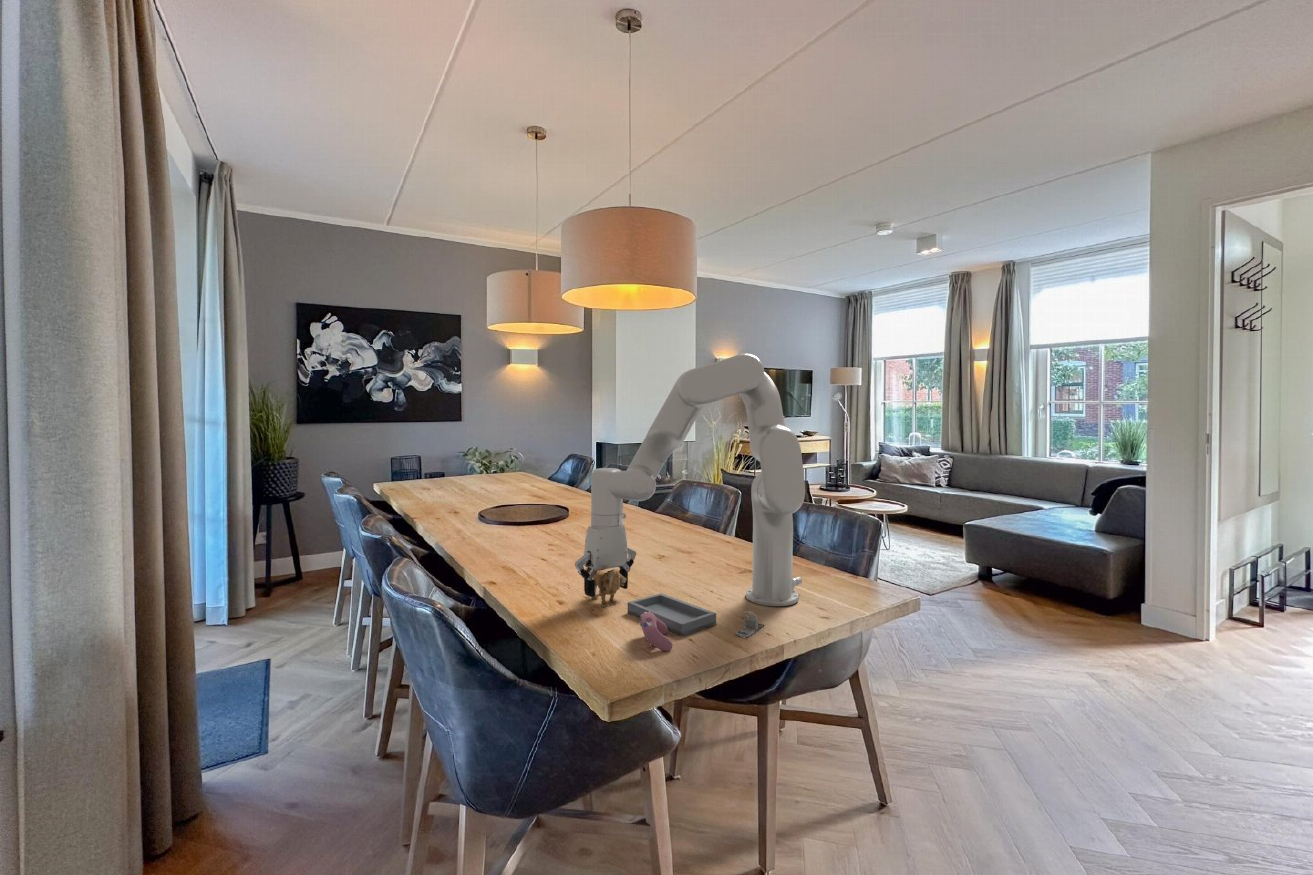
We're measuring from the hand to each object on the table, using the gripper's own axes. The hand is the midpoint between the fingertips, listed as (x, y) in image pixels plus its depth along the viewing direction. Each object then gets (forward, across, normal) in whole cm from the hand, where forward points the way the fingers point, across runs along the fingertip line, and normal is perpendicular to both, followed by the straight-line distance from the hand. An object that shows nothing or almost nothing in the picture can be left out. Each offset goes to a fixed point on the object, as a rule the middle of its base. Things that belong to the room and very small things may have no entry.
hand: (606, 591), depth 140 cm
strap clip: (+3, -12, +34) cm, 36 cm away
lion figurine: (+3, 0, -1) cm, 3 cm away
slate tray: (+2, -4, +18) cm, 19 cm away
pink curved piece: (+3, +7, +26) cm, 27 cm away
